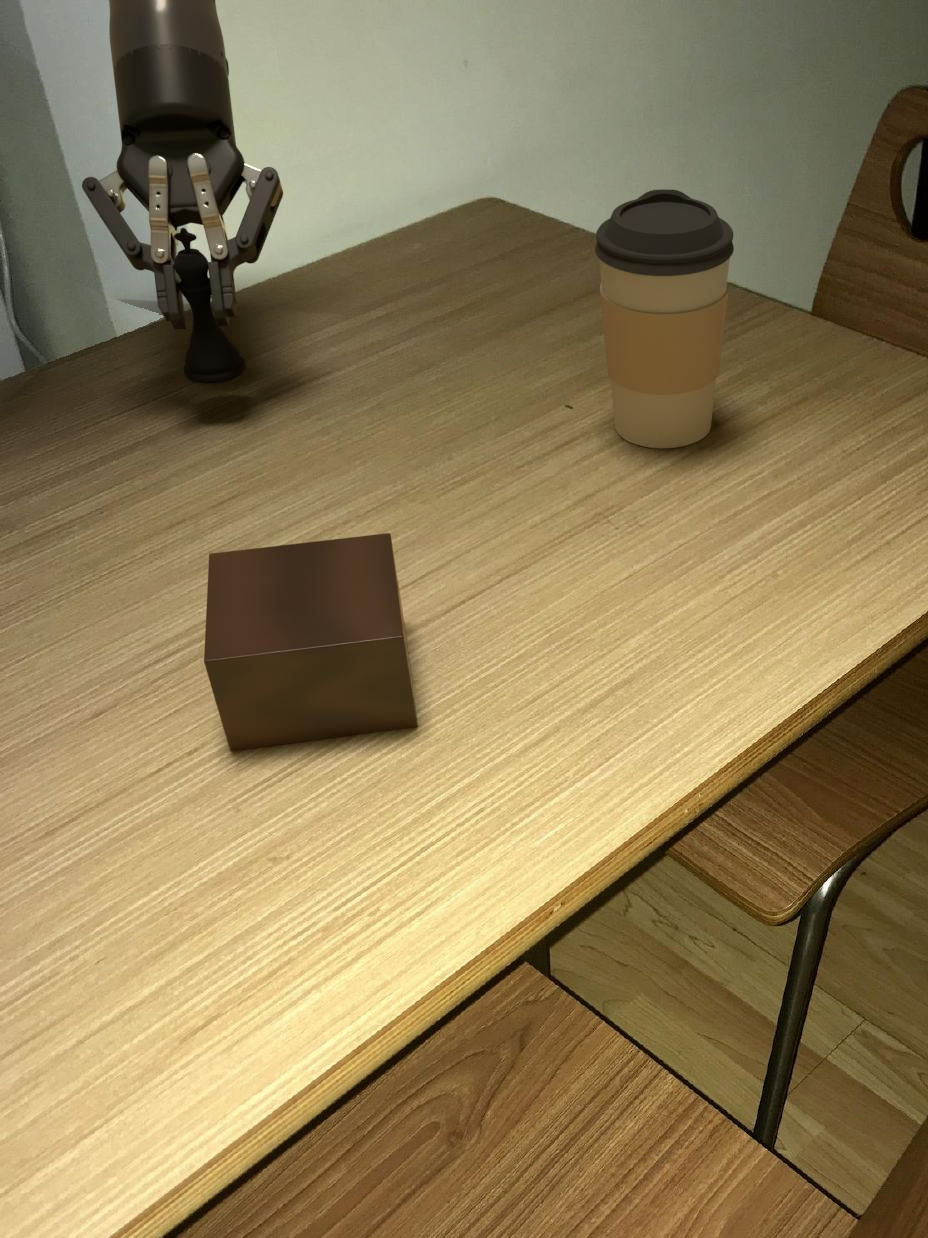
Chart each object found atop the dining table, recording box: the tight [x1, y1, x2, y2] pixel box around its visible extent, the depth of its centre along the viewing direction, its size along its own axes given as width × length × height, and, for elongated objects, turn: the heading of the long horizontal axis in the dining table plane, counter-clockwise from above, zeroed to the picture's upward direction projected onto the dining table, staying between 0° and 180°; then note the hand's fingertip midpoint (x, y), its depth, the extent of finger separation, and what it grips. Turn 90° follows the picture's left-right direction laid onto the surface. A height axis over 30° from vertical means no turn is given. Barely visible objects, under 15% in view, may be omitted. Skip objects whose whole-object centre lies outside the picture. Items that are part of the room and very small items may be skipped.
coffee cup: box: [594, 188, 735, 449], centre depth 90 cm, size 9×9×15 cm
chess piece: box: [174, 227, 247, 385], centre depth 93 cm, size 4×4×10 cm
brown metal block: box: [203, 532, 419, 752], centre depth 73 cm, size 10×10×6 cm
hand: (200, 322), depth 91 cm, fingers closed on chess piece, 2 cm apart
